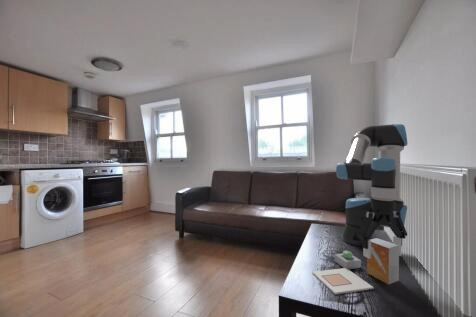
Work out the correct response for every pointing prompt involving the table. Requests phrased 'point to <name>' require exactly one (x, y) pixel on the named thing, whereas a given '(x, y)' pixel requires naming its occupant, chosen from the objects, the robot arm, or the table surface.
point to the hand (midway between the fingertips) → (382, 255)
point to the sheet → (342, 281)
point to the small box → (384, 261)
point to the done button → (347, 255)
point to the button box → (347, 261)
